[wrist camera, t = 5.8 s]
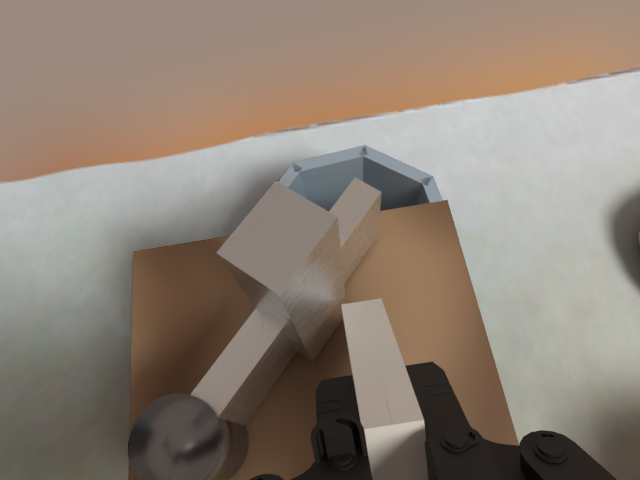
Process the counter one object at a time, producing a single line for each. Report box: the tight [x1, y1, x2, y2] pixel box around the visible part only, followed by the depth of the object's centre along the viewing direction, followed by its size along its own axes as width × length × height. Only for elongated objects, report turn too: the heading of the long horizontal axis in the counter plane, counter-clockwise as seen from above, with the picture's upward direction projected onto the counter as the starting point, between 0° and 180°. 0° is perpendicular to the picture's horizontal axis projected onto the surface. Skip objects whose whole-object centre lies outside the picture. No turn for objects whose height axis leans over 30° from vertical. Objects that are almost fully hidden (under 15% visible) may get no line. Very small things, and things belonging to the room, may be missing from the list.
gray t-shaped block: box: [128, 178, 382, 480], centre depth 16 cm, size 12×3×9 cm, turn 145°
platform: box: [128, 200, 519, 480], centre depth 25 cm, size 15×13×10 cm
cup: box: [279, 145, 443, 211], centre depth 29 cm, size 10×10×7 cm
